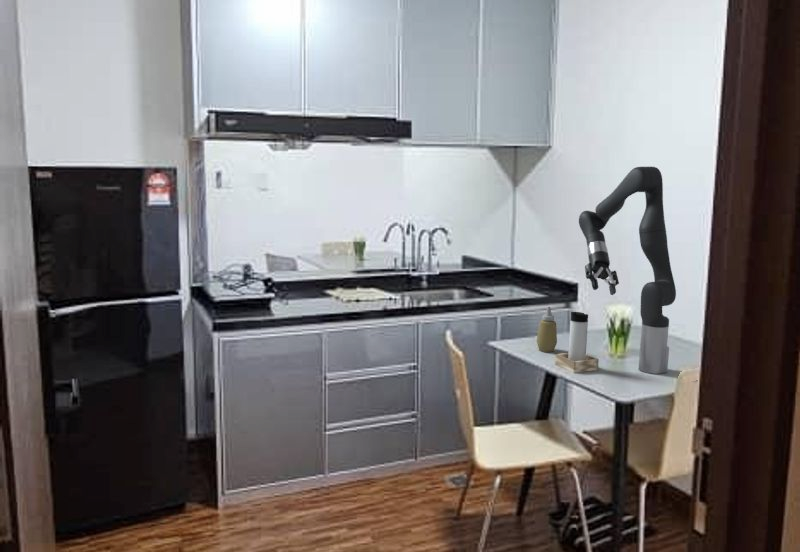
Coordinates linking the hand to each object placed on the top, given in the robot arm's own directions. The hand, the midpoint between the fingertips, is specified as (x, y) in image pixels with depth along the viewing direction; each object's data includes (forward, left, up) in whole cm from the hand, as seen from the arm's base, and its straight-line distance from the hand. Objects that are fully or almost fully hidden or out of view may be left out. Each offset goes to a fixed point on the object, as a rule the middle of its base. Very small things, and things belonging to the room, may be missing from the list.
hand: (604, 291), depth 262 cm
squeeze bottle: (+17, -14, -27) cm, 35 cm away
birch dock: (+12, +9, -27) cm, 31 cm away
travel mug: (+12, +8, -26) cm, 30 cm away
